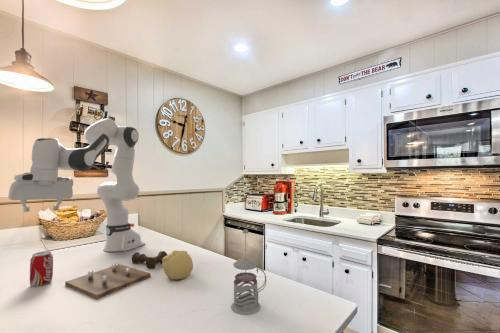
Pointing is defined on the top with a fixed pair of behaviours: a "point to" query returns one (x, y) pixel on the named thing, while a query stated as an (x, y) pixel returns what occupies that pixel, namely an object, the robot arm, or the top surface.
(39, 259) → the soda can
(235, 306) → the french press
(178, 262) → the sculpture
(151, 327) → the top surface
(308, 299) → the top surface
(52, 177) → the robot arm
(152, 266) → the kendama
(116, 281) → the peg board
